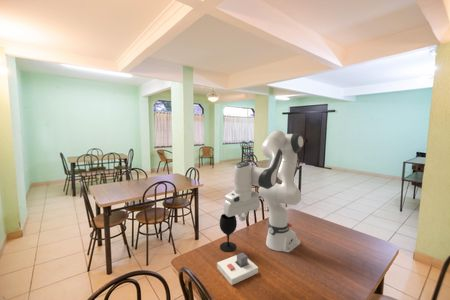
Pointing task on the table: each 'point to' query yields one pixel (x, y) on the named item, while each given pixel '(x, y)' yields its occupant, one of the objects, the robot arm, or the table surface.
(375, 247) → the table surface
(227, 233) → the wine glass
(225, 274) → the socket plate
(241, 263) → the plug
